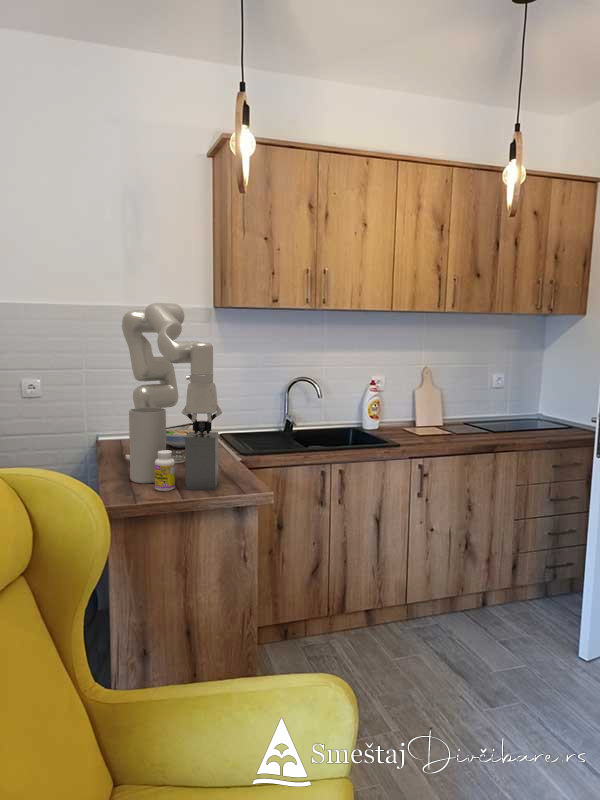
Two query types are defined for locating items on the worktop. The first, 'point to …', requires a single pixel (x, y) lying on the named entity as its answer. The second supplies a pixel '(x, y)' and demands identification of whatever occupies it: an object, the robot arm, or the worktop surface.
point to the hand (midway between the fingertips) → (202, 432)
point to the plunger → (201, 427)
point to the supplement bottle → (164, 471)
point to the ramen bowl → (178, 434)
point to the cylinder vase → (146, 442)
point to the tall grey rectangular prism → (201, 461)
